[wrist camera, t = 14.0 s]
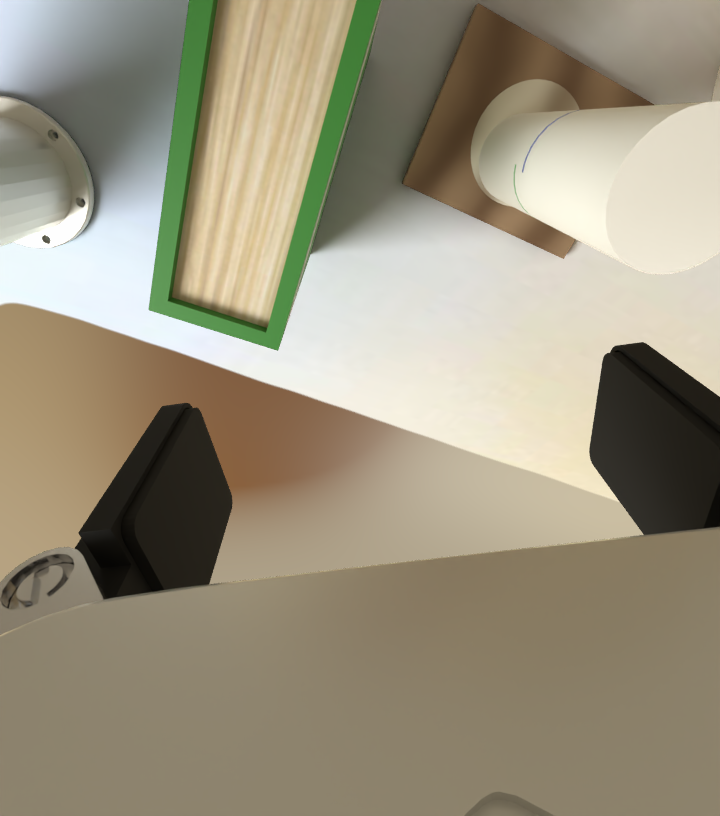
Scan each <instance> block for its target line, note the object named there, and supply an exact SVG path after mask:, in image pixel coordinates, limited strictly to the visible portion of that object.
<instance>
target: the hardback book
mask: <svg viewBox="0 0 720 816" xmlns="http://www.w3.org/2000/svg"><path fill="white" fill-rule="evenodd" d="M381 3H382V0H189V5H188V13H187V20H186V28H185V36H184V43H183V51H182V59H181V66H180V74H179V82H178V89H177V97H176V104H175V112H174V120H173V127H172V135H171V143H170V150H169V158H168V166H167V173H166V181H165V189H164V196H163V204H162V212H161V219H160V227H159V235H158V242H157V250H156V258H155V265H154V273H153V280H152V288H151V296H150V303H149V310H150V311H154V312H157V313H160V314H163V315H166V316H169V317H173V318H176V319H179V320H182V321H185V322H188V323H192V324H195V325H198V326H201V327H204V328H208V329H211V330H214V331H217V332H220V333H223V334H227V335H230V336H233V337H236V338H239V339H243V340H246V341H249V342H252V343H255V344H258V345H262V346H265V347H268V348H271V349H274V350H277V351H278V349H279V346H280V343H281V340H282V337H283V334H284V331H285V328H286V325H287V322H288V319H289V316H290V313H291V310H292V307H293V304H294V301H295V298H296V295H297V292H298V289H299V286H300V283H301V280H302V277H303V274H304V271H305V269H306V266H307V263H308V260H309V257H310V253H311V250H312V247H313V243H314V240H315V237H316V233H317V230H318V226H319V223H320V220H321V216H322V213H323V210H324V206H325V203H326V200H327V196H328V193H329V189H330V186H331V183H332V179H333V176H334V173H335V169H336V166H337V162H338V159H339V156H340V152H341V149H342V146H343V142H344V139H345V135H346V132H347V129H348V125H349V122H350V119H351V115H352V112H353V108H354V105H355V102H356V98H357V95H358V92H359V88H360V85H361V82H362V78H363V75H364V71H365V68H366V65H367V61H368V58H369V55H370V51H371V46H372V42H373V38H374V33H375V29H376V25H377V20H378V16H379V12H380V7H381Z"/></svg>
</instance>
